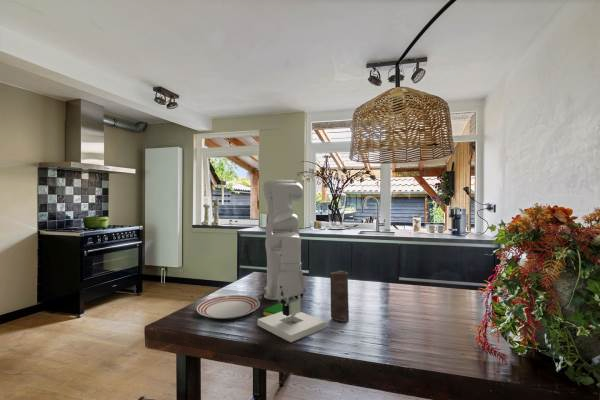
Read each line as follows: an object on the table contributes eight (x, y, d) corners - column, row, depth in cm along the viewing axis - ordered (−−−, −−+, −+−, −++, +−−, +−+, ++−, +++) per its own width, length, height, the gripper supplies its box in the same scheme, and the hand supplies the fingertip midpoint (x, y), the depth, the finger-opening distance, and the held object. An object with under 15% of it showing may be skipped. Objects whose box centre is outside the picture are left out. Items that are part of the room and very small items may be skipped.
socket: (257, 325, 121) (257, 317, 121) (291, 313, 134) (291, 306, 134) (290, 342, 107) (290, 333, 107) (325, 327, 119) (325, 319, 119)
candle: (334, 324, 122) (334, 274, 122) (327, 317, 129) (327, 270, 129) (351, 322, 124) (351, 272, 124) (344, 315, 131) (344, 268, 131)
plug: (281, 314, 120) (281, 296, 120) (291, 310, 124) (291, 293, 124) (290, 317, 116) (290, 299, 116) (300, 314, 120) (300, 296, 120)
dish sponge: (294, 309, 141) (294, 303, 141) (276, 319, 129) (276, 313, 129) (281, 306, 144) (281, 301, 144) (263, 315, 133) (263, 310, 133)
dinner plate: (254, 324, 123) (254, 315, 123) (186, 323, 124) (186, 315, 124) (263, 301, 151) (263, 294, 151) (208, 301, 151) (208, 294, 151)
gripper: (300, 262, 129) (300, 305, 128) (267, 268, 117) (268, 316, 117) (313, 265, 123) (313, 310, 123) (280, 271, 112) (280, 321, 111)
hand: (291, 312), depth 120 cm, fingers closed on plug, 5 cm apart
